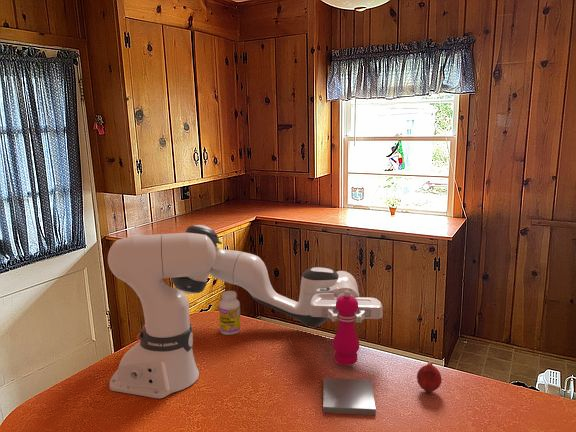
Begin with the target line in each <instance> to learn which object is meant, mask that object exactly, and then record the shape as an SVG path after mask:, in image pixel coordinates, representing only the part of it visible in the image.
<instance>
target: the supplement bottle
mask: <svg viewBox="0 0 576 432" xmlns="http://www.w3.org/2000/svg"><path fill="white" fill-rule="evenodd" d="M237 294H238V293H237V292H236V291H235V290H225V291H223V292H221V300H220V301H219V303H218V314H219V315H218V317H219V318H218V319H219V320H218V321H219V331H220V333H221V334H222V335H226V336H230V335H231V336H233V335H236V334H238V333H239V332H240V330H241V303H240V301H239V300H238V298H237V296H238V295H237Z"/></svg>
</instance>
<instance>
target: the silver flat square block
mask: <svg viewBox="0 0 576 432" xmlns="http://www.w3.org/2000/svg"><path fill="white" fill-rule="evenodd" d="M322 381H323V383H322V384H323V391H322V394H323V397H322V399H323V400H322V401H323V402H322V403H323V404H322V405H323V406H322V407H323V408H322V411H323V412H322V413H325V414H344V415H345V414H346V415H348V414H349V415H350V414H351V415H372V416H373V415H374V416H376V415H377V414H376V413H377V409H376V402H375V396H374V391H373V385H372V379H363V378H362V379H357V378H356V379H355V378H334V377H333V378H332V377H331V378H330V377H329V378H328V377H323V380H322Z"/></svg>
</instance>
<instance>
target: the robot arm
mask: <svg viewBox="0 0 576 432" xmlns="http://www.w3.org/2000/svg"><path fill="white" fill-rule="evenodd" d="M112 243H113V244H112V245H111V246H110V248H109V250H108V253H107V264H108V267H109V270H110V271H111V273H112V275H114V276H115V277H116V278H117V279H119V280H121V281H122V282H124V283H126V284H127V285H128V286H129V287H130V288H132V290H133V291H134V292H135V294H136V295H137V296H138V299H139V301H140V303H141V306H142V310H143V317H144V324H143V325H142V328H141V329H140V331H139V332H138V334H137V335H136V341H137V342H138V341H139V342H138V343H136V344H134V345H133V346H132V347H131V348H130V349H128V350H127V351H126V352H125V353H124V354H123V356H122V357H121V360H120V361H119V364H118V368H117V369H116V371H115V372H114V373H113V375H112V376H111V377H110V380H109V390H110V391H112V392H118V393H119V392H120V393H125V394H130V395H136V396H142V397H149V398H154V399H162V398H163V399H164V398H165V397H168V396H169V395H171V394H173V393H176V392H179V391H182V390H184V389H187V388H189V387H191V386H192V385H194V384H195V383H196V381H197V380H198V378H199V377H200V376H199V375H200V371H199V369H198V367H197V363H196V360H195V356H194V352H193V344H194V335H193V328H192V323H191V322H190V320H191V319H190V305H189V303H190V301H189V299H188V297H187V295H186V294H188V295H194V294H200V293H202V292H204V290H205V289H206V286H207V283H208V282H207V281H208V279H209V275H210V276H212V277H214V278H215V279H218V280H220V281H223V282H225V283H228V284H231V285H236V286H238V287H241V288H243V289H244V290H246V291H247V292H248V293H249V294H250V296H251V298H252V299H253V300H254V301H256V302H257V303H260V304H262V305H263V306H266V307H268V308H271V309H273V310H275V311H277V312H280V313H283V314H284V315H287V316H290V317H292V318H293V319H294V320H297V321H298V322H300V323H302V324H303V325H305V326H307V327H313V328H314V327H319V326H321V325H323V324H324V323H326V322H327V320H328V319H329V320H331V322H333V323H337V322H338V315H337V313H338V311H337V309H336V301H337V299H338V298H339V297H341V296H343V295H344V292H345V291H350V293H351V295H350V296H353V297H354V298H355V299H356V300H357V302H358V310H357V311H356V312H355V313H356V320H355V323H357V324H359V323H360V324H361V323H363V320H366V319H368V320H370V319H371V320H372V319H373V320H379V319H382V318H383V314H384V313H383V309H384V308H383V305H382V302H381V301H380V300H379V299H378V298H376V297H368V296H367V297H363V296H362V297H360V293H359V286H358V283H357V280H356V278H355V277H354V276H353V275H352V274H351V273H350V272H348V271H345V270H338V271H335V270H334V269H333V268H330V267H327V266H320V265H319V266H316V265H315V266H313V267H312V266H311V267H310V268H308V269H306V270H304V272H303V273H302V274H301V280H300V286H299V287H300V288H299V298H298V301H296V300H294V299H292V298H288V297H287V296H284V295H282V294H280V293H277V292H276V291H275V289H274V288H273V285H272V284H271V281H270V277H269V276H270V275H269V273H268V269H267V266H266V263H265V262H264V261H263V260H262V259H261V257H260V256H258V255H256V254H252V253H249V252H245V251H241V250H234V249H233V250H232V249H222V248H219V247H218V245H217V244H219V245H222V244H223V242H222V241H220V239H219V236H218V234H217V233H216V231H215V230H213V229H212V228H211V227H209V226H207V225H205V224H194V225H190V226H188V227H187V228H186V230H185V231H184V232H175V233H173V232H172V233H159V234H158V233H157V234H155V233H154V234H139V235H132V236H128V237H123V238H120V239H116V240H115V241H114V242H112ZM170 278H171V282H172V284H173V286H174V287H172V286H170V285H169V284H166V283H165V282H164V280H163V279H170Z"/></svg>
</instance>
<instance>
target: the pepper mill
mask: <svg viewBox="0 0 576 432" xmlns="http://www.w3.org/2000/svg"><path fill="white" fill-rule="evenodd" d="M350 295H351V293H350V291H345V292H344V295H343V296H341V297H339V298H338V299H337V301H336V309H337V311H338V313H337V315H338V319H337V321H338V327H337V331H336V333H335V335H334V337H333V341H332V347H333V350H334V353H333V354H334V355H333V357H334V361H335V363H337V364H338V365H342V366H352V365H354V364H356V363H357V362H358V351H359V350H360V340H359V337H358V334H357V331H356V330H355V322H356V313H355V312H356V311H357V310H358V302H357V300H356V299H355V298H354V297H353V296H350Z"/></svg>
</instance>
